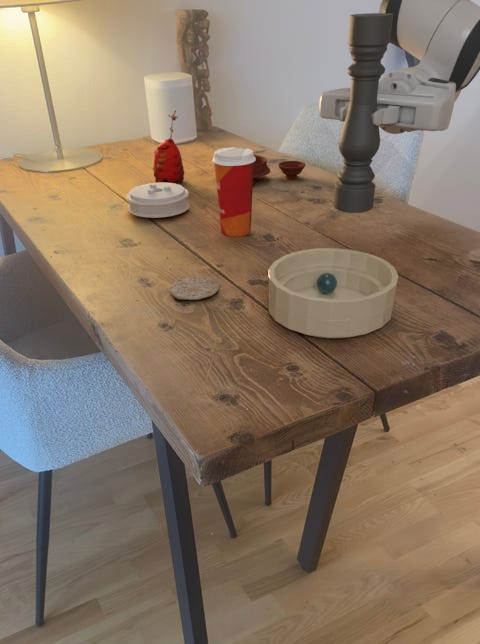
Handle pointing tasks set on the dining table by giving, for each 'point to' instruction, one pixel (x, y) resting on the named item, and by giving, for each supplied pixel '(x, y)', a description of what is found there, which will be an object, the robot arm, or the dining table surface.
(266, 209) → the dining table surface
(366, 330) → the bowl
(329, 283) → the bead
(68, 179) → the dining table surface
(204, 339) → the dining table surface
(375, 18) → the candle holder
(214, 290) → the flatbread
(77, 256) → the dining table surface
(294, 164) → the pottery
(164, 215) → the lid
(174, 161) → the red vase with sprig
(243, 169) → the paper cup
